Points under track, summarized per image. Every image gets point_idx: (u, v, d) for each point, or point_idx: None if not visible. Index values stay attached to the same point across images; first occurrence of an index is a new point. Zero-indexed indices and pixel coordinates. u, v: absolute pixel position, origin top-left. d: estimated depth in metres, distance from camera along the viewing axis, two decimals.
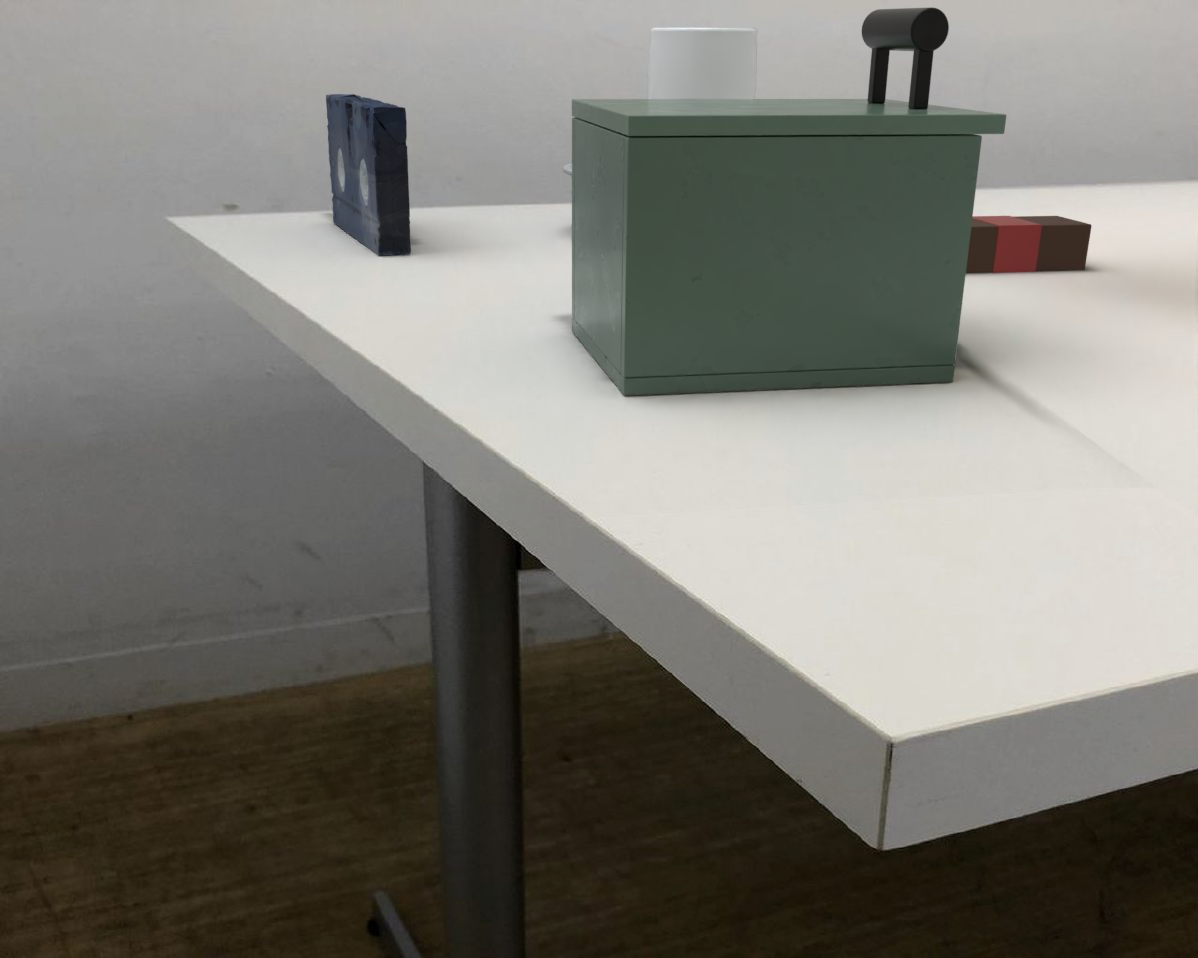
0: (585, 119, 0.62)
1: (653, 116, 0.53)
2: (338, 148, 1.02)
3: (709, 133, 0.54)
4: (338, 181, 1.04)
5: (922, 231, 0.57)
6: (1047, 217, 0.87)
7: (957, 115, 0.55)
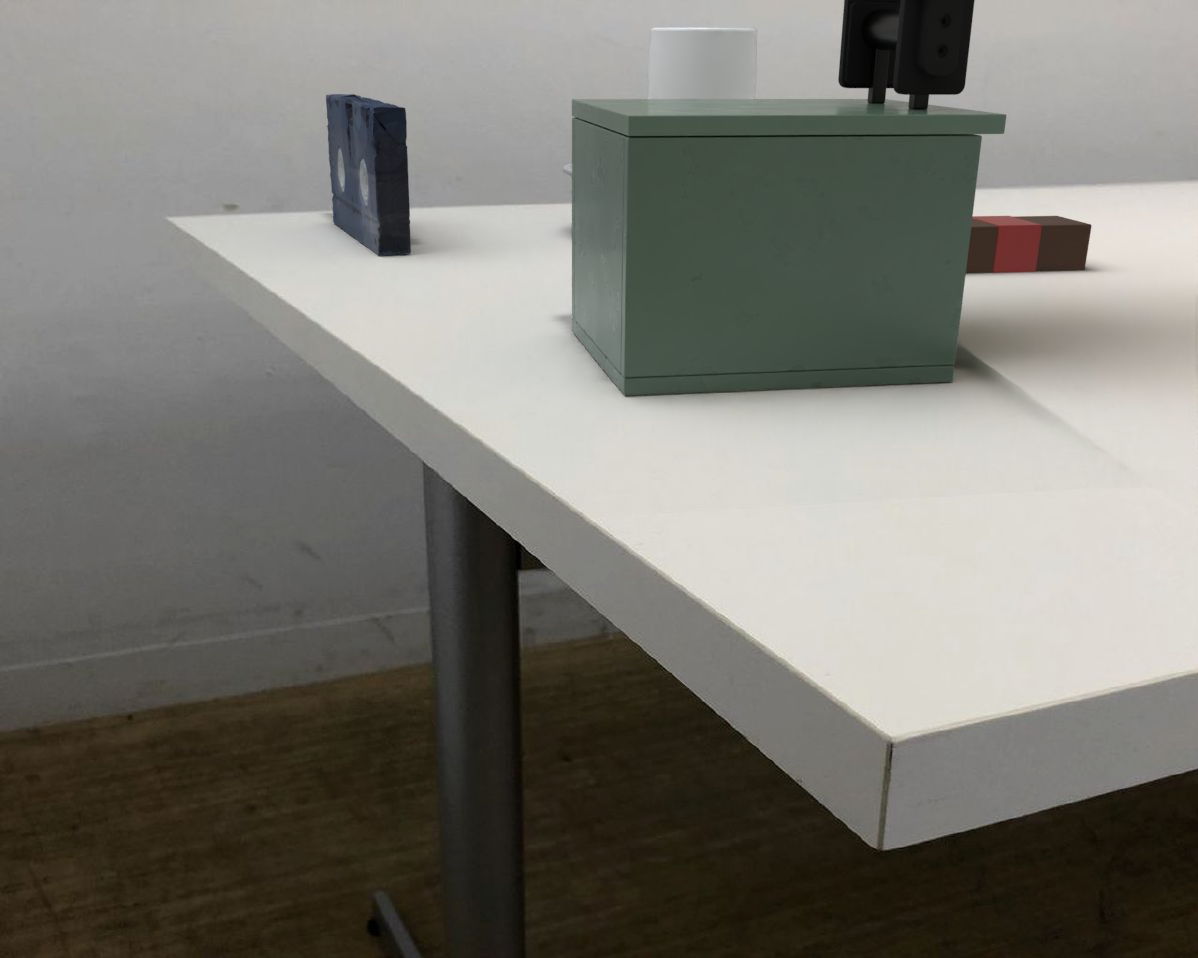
0: (585, 119, 0.62)
1: (653, 116, 0.53)
2: (338, 148, 1.02)
3: (709, 133, 0.54)
4: (338, 181, 1.04)
5: (922, 231, 0.57)
6: (1047, 217, 0.87)
7: (957, 115, 0.55)
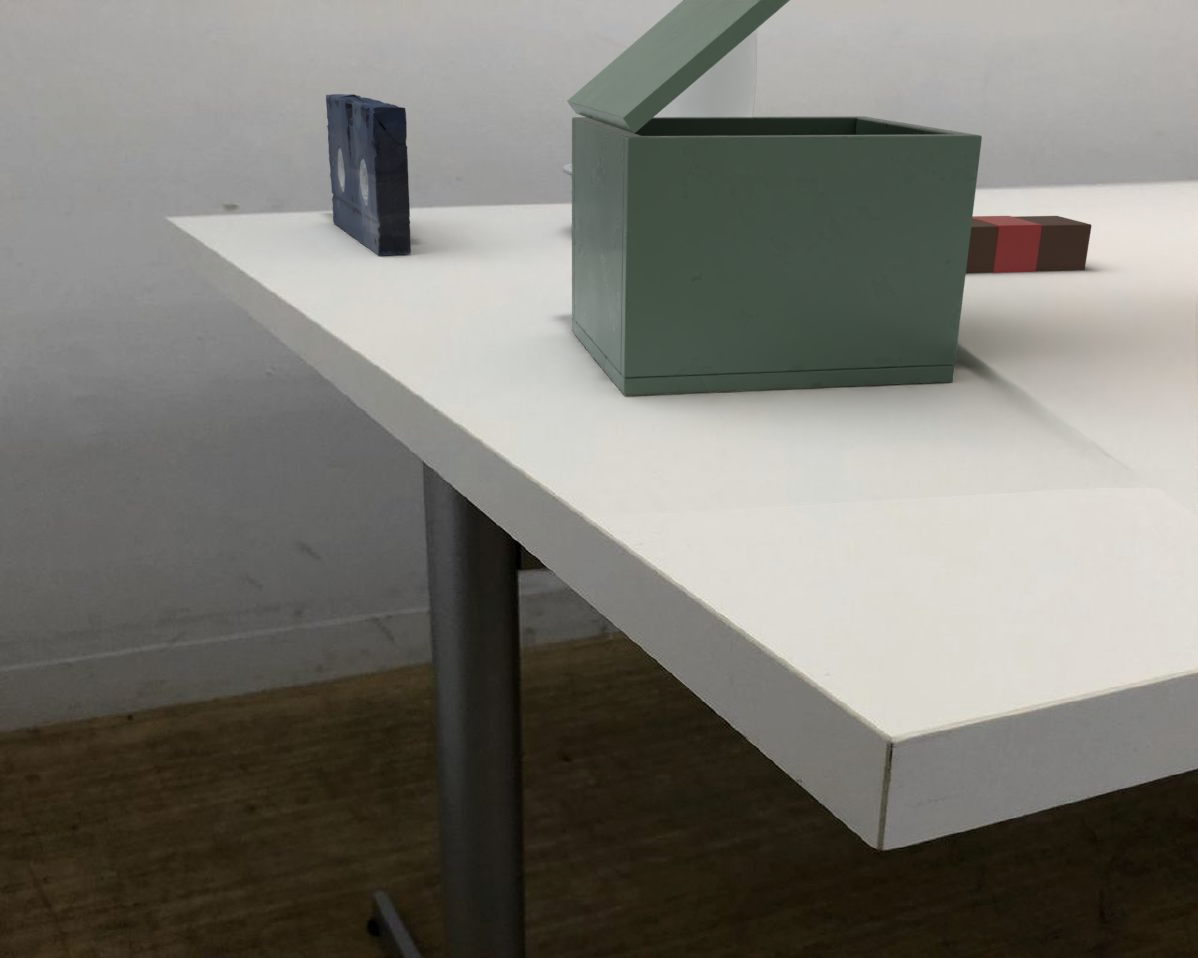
0: (589, 117, 0.62)
1: (643, 101, 0.53)
2: (338, 148, 1.02)
3: (698, 75, 0.53)
4: (338, 181, 1.04)
5: (922, 231, 0.57)
6: (1047, 217, 0.87)
7: None
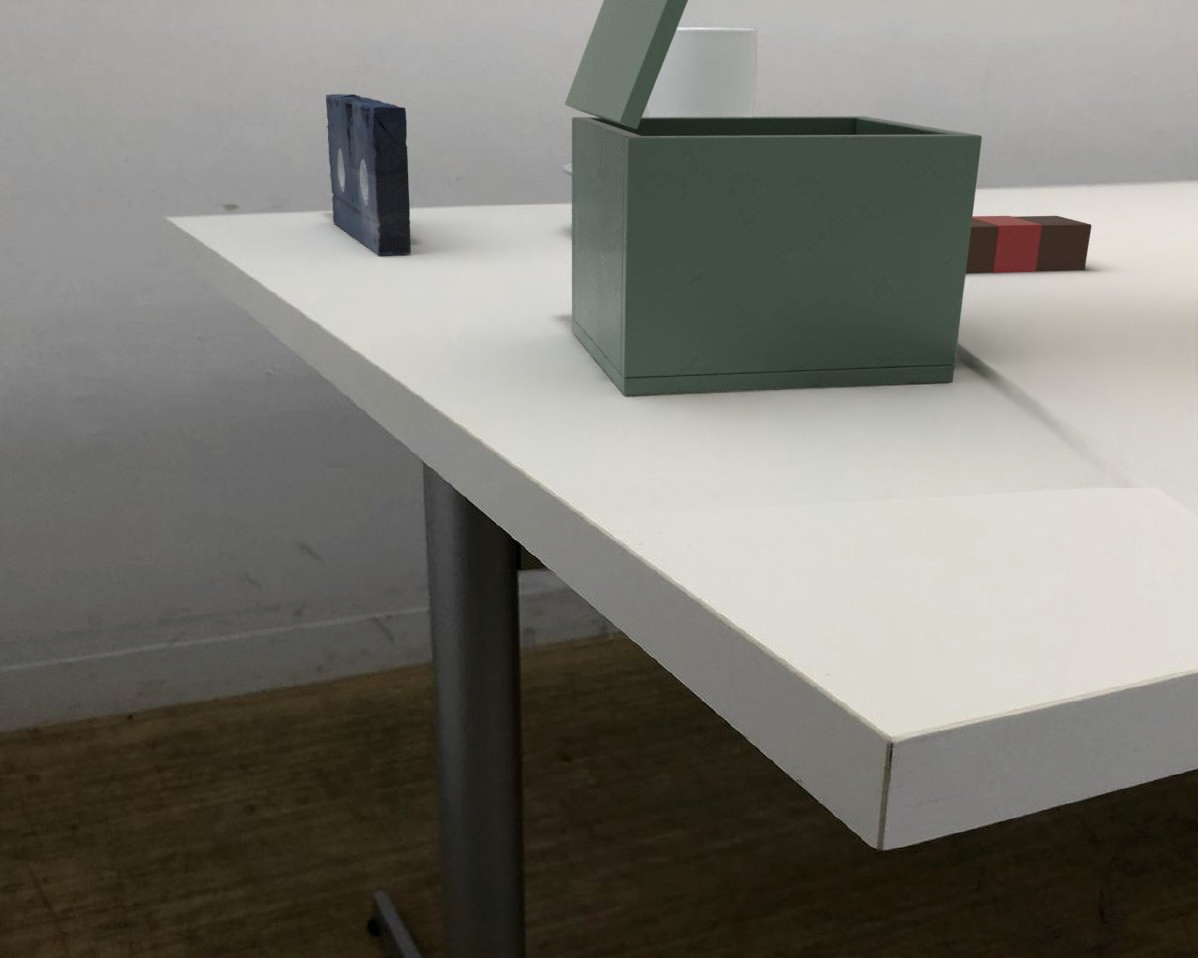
0: (591, 114, 0.62)
1: (630, 96, 0.53)
2: (338, 148, 1.02)
3: (668, 44, 0.52)
4: (338, 181, 1.04)
5: (922, 231, 0.57)
6: (1047, 217, 0.87)
7: None
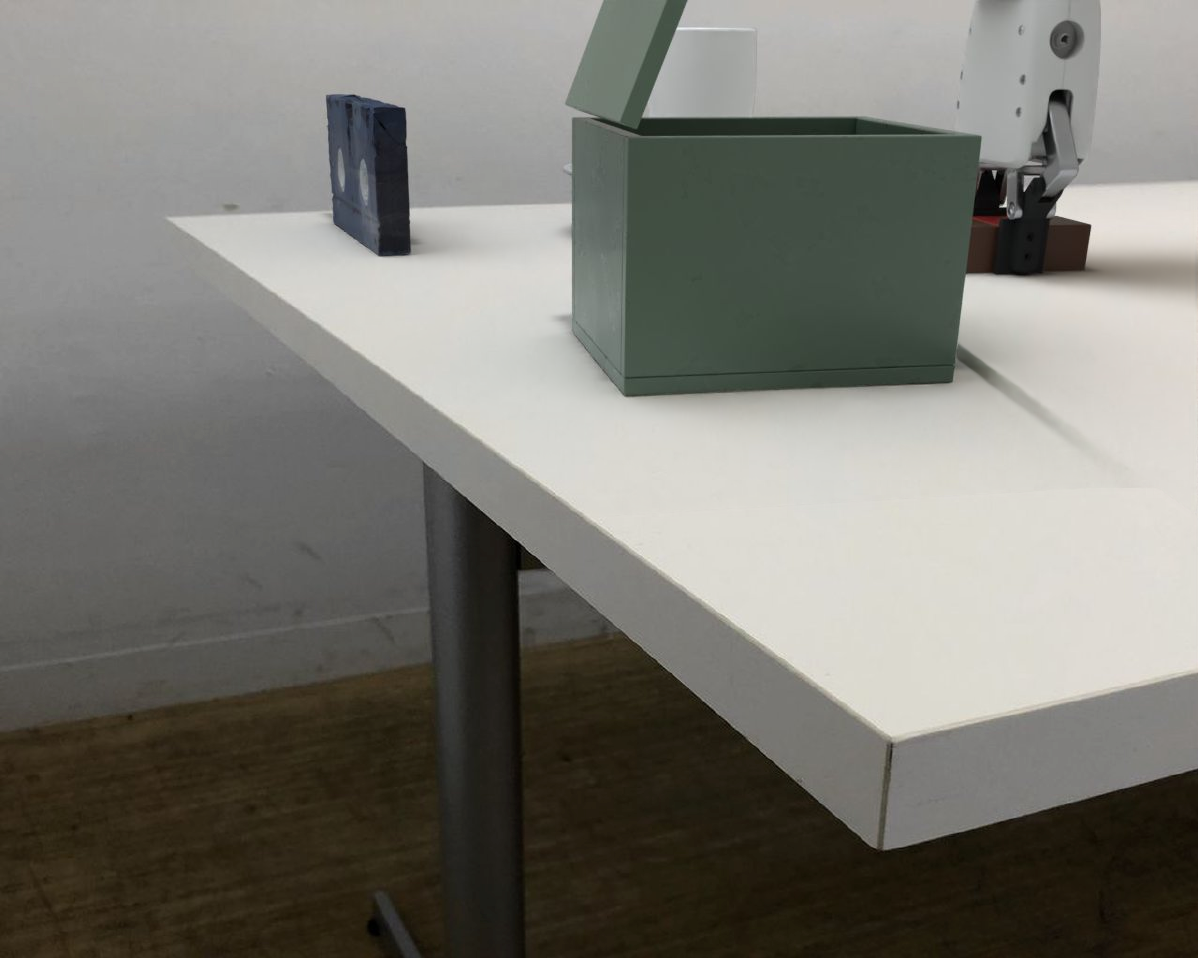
0: (591, 114, 0.62)
1: (630, 96, 0.53)
2: (338, 148, 1.02)
3: (668, 44, 0.52)
4: (338, 181, 1.04)
5: (922, 231, 0.57)
6: None
7: None
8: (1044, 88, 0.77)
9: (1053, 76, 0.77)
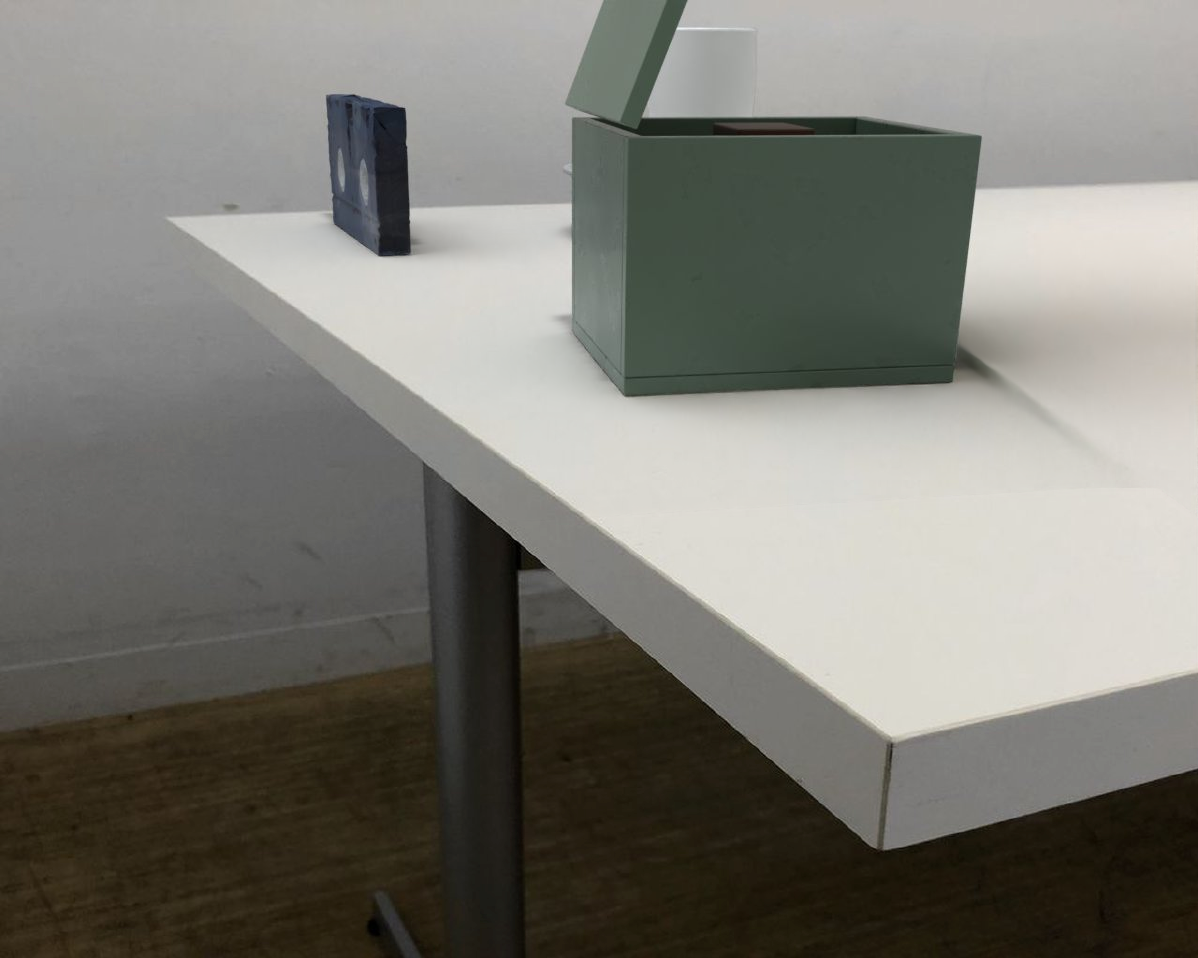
0: (591, 114, 0.62)
1: (630, 96, 0.53)
2: (338, 148, 1.02)
3: (668, 44, 0.52)
4: (338, 181, 1.04)
5: (922, 231, 0.57)
6: None
7: None
8: None
9: None
